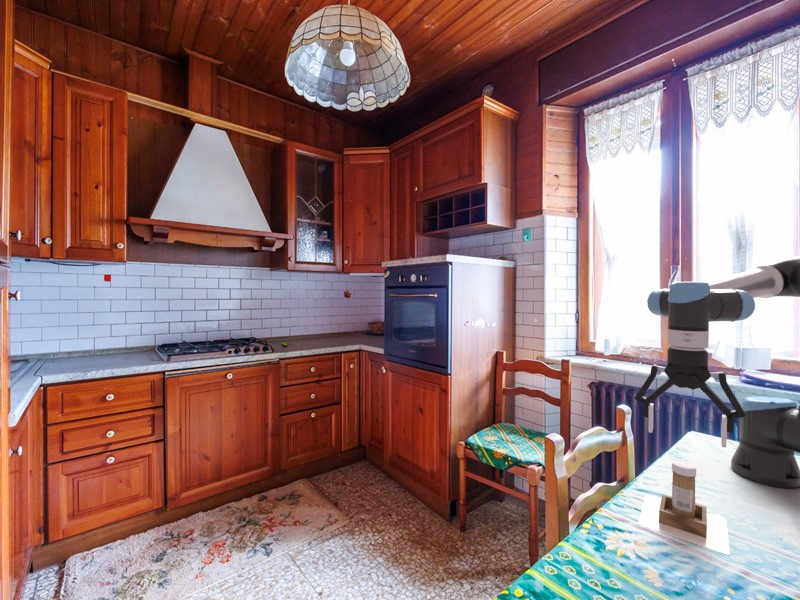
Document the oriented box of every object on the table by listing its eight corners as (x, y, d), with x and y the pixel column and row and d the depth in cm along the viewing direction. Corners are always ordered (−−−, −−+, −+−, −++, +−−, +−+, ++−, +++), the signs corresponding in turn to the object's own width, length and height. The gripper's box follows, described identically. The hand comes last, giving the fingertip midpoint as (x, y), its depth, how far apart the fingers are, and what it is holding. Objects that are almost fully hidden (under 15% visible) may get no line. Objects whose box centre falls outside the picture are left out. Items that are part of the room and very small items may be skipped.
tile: (726, 521, 89) (726, 517, 89) (729, 560, 77) (729, 555, 77) (646, 497, 99) (646, 494, 99) (638, 528, 87) (638, 524, 87)
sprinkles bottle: (698, 522, 87) (699, 465, 87) (690, 529, 85) (691, 470, 85) (675, 512, 91) (676, 458, 91) (667, 518, 89) (668, 462, 88)
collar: (706, 519, 89) (706, 506, 88) (706, 538, 82) (706, 524, 82) (662, 505, 94) (662, 494, 94) (658, 522, 87) (659, 510, 87)
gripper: (622, 345, 92) (621, 430, 93) (764, 356, 76) (760, 458, 77) (627, 341, 98) (626, 421, 98) (759, 351, 82) (756, 446, 83)
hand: (685, 437), depth 88 cm, fingers open, 13 cm apart
